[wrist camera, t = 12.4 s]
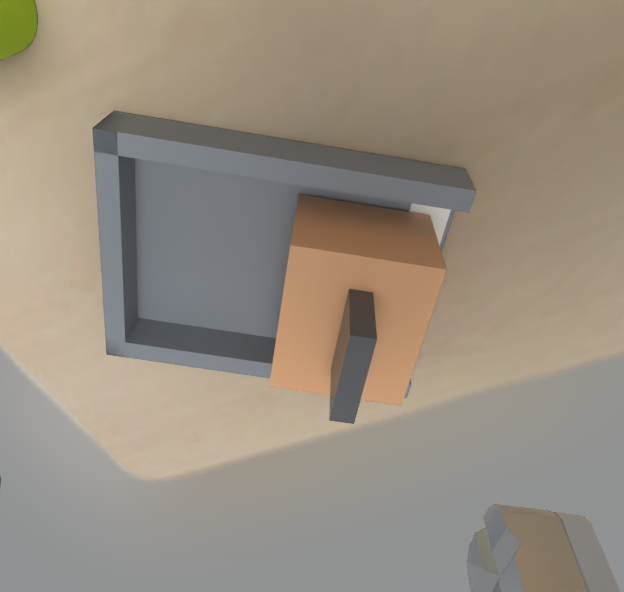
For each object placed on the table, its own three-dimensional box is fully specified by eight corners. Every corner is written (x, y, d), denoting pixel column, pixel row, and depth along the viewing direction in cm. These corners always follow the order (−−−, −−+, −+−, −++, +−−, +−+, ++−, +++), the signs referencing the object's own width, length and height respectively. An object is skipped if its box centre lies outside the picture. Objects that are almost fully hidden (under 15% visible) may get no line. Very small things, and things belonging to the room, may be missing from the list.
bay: (465, 168, 41) (476, 191, 38) (402, 366, 52) (406, 398, 48) (113, 110, 40) (92, 128, 37) (122, 325, 51) (106, 354, 47)
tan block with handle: (430, 215, 42) (460, 315, 31) (393, 340, 49) (407, 458, 38) (298, 194, 42) (283, 288, 31) (279, 322, 48) (260, 437, 38)
